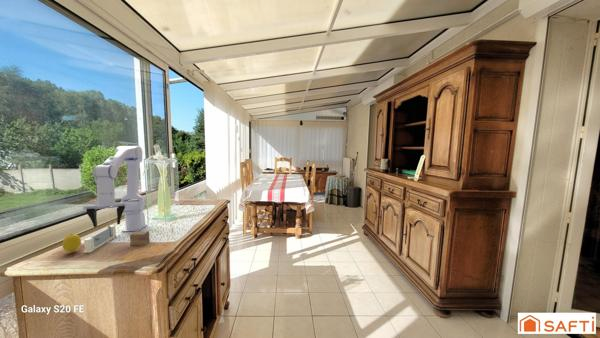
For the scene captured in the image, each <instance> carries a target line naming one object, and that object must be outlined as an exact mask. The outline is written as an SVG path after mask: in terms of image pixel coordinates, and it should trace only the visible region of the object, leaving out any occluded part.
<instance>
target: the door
mask: <svg viewBox="0 0 600 338" xmlns="http://www.w3.org/2000/svg"><path fill="white" fill-rule="evenodd" d="M109 237H111V227H110V225H108V226H107V228H104V229H102V230H101V231H99V232H97V233H95V234H93V235H92V236H90V238H93V245H94V247H95V246H96V245H98V244H100V243H101V242H103V241H104V240H106V239H108V238H109Z"/></svg>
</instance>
